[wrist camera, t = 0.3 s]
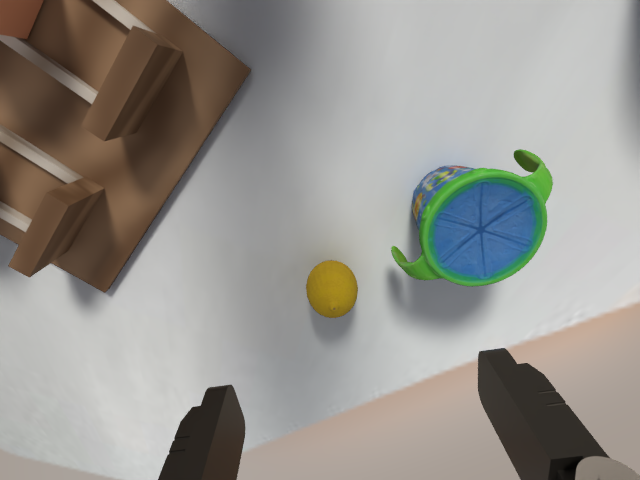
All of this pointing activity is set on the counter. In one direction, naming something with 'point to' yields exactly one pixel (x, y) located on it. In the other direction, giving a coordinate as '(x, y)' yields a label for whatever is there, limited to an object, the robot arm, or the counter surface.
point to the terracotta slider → (18, 17)
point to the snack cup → (478, 222)
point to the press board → (102, 127)
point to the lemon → (332, 289)
